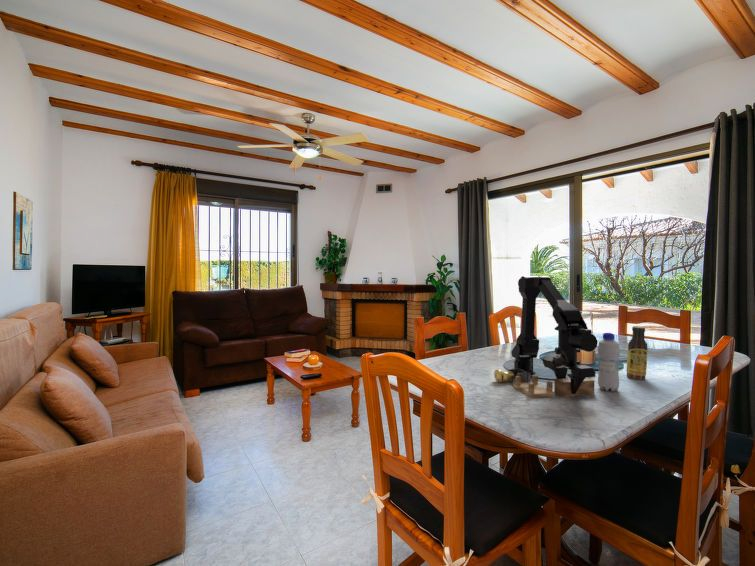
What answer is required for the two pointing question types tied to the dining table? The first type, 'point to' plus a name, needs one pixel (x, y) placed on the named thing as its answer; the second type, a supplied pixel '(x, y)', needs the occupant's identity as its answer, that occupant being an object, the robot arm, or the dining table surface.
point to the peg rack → (534, 387)
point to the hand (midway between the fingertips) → (567, 390)
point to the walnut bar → (564, 387)
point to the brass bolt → (503, 376)
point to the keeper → (521, 374)
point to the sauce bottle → (637, 355)
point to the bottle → (608, 363)
